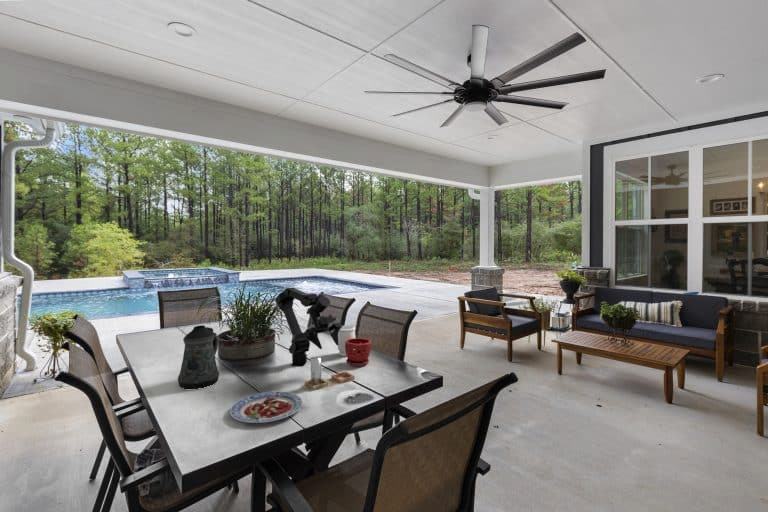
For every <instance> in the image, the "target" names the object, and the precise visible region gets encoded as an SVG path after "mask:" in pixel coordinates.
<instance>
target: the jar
mask: <svg viewBox="0 0 768 512" xmlns="http://www.w3.org/2000/svg"><path fill="white" fill-rule="evenodd" d="M355 330H356V327H355V326H354V325H342V328H341V329H340V330H339V332H338V345H337V350H338V351H339V352H338V355H339V356H340V355H341V356H340V357H347V355H346V350H345V342H346V340H348V339H353V338H356V332H355Z"/></svg>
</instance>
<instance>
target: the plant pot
mask: <svg viewBox="0 0 768 512" xmlns="http://www.w3.org/2000/svg"><path fill="white" fill-rule="evenodd" d="M371 349H372V341H371V339H367V338H362V337H361V338H360V337H359V338H358V337H357V338H356V337H355V338H353V339H348V340H346V342H345V350H346V355H347V356H346V358H347V359H346V360H345V361H346V364H348V365H349V366H352V367H362V366H363V367H364V366H366V365H368V364H369V362H370V359H369V357H370V354H371Z"/></svg>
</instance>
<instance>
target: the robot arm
mask: <svg viewBox="0 0 768 512" xmlns="http://www.w3.org/2000/svg"><path fill="white" fill-rule="evenodd" d="M294 300H297V301H299V302H300V304H301V305H302V306H304V307H308V308H307V310H306V315H309V316H310V319H311V326H312V325H313V326H314V327H309V328H306V330H305V331H304V332H303V331H302V329H301V326H300V324H299V322H298V319H297V316H296V313H295V312H294V309H293V306H294ZM275 304H276V305H277V307H278V308H277V309H279V310H280V311H282V312H283V315H284V316H285V317H284V318H285V320H286V322H287V325H288V327H289V331H290V334H291V335H292V337H291V341H290V342H291V345H289V348H288V353H289V354H292V355H291V361H292V362H291V364H290V365H291V366H293V367H297V366H298V367H302V366H303V367H304V366H305V365H306V364H307V363H308V354H307V352H309V350H310V346H311V343H312V344H314V345H315V346H316V347H317V348H318V349H320V350H322V349H323V347H322V343H321V342H320V339H319V336H318V335H319V334H321V333H325V332H329V334H330V337H331V338H332V340H333V342H334V344H335V345H336V346H338V332H339V330H340V329H341V328H342V326H343V325H342V324H341V322H335V321H336V320H337V316H336V315H335V314H334V313H331V314H328V315H329V316H326V315H324V314H323V313H324V312H325V311H326V310H327V308H329V306H330V305H331V300H330V299H329V298H328V297H327V296H325V295H324V294H323V293H322V294H319V295H318V294H317V293H313V292H311V293H307V292H304V291H302V290H299V289H297V288H295V287H286V288H285V289H284V290H283V291H281V292H280V293H278V295H276V297H275Z"/></svg>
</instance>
